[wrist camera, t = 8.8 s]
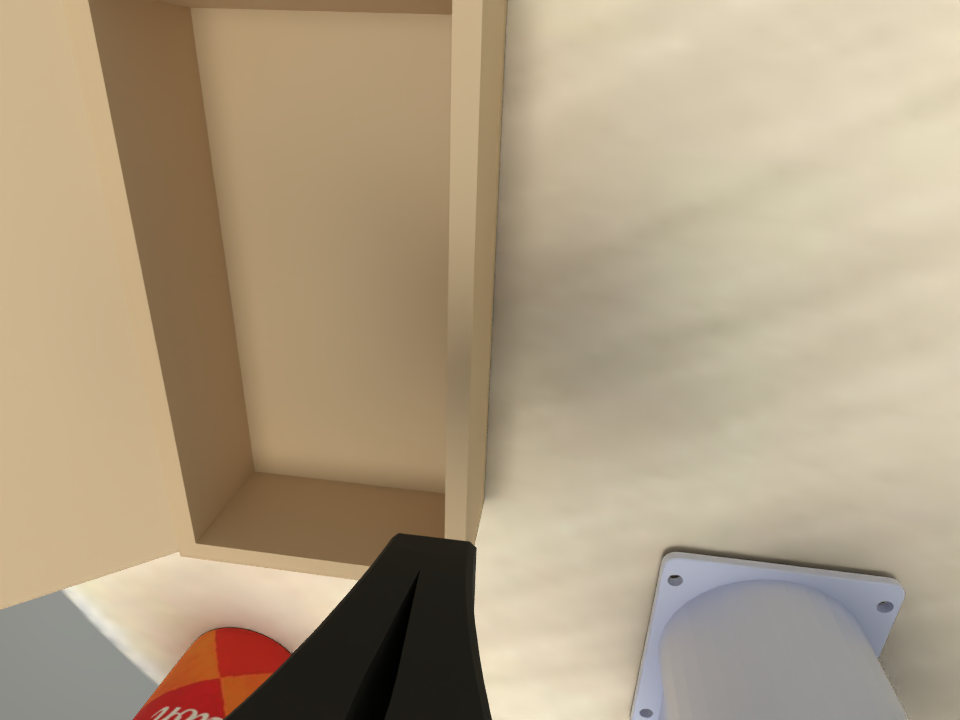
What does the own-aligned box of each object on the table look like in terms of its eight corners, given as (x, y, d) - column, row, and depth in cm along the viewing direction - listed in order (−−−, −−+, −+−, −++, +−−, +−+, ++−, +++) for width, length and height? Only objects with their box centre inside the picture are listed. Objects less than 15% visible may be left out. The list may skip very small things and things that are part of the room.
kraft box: (484, 501, 23) (463, 594, 18) (248, 473, 24) (180, 556, 19) (507, -8, 16) (484, -39, 12) (178, -16, 17) (51, -47, 13)
